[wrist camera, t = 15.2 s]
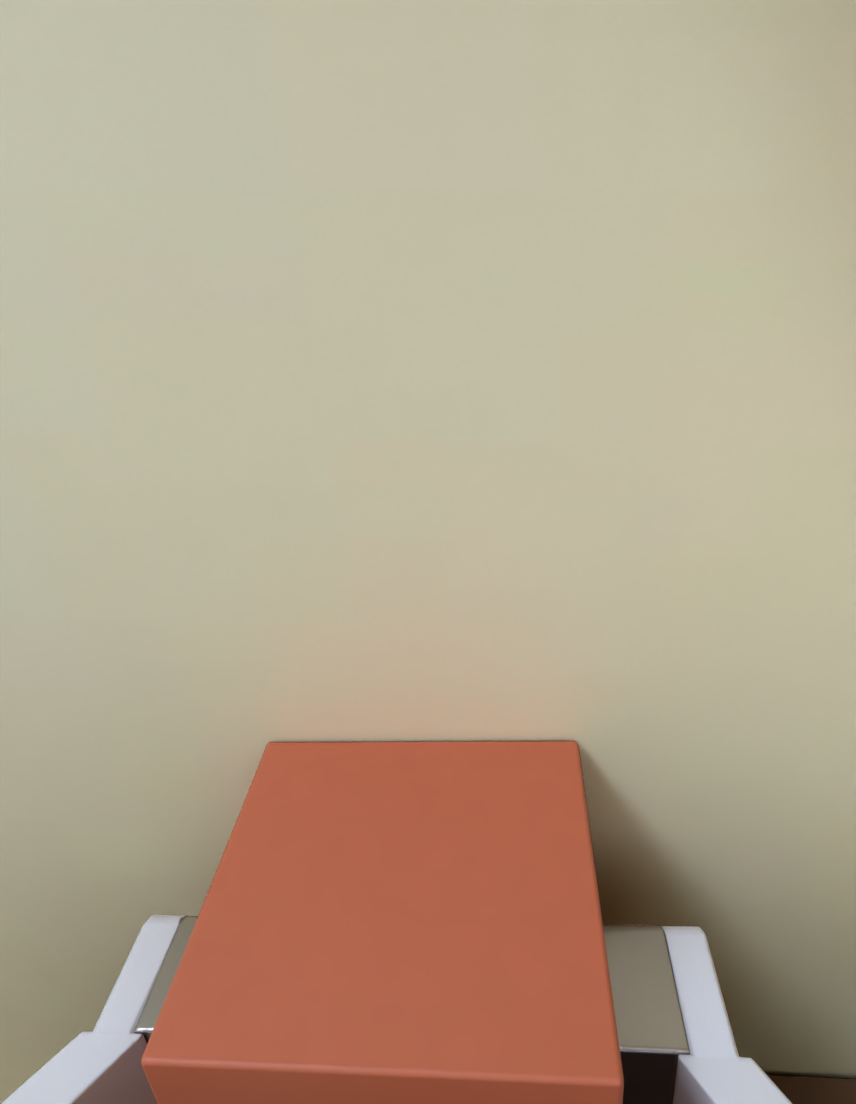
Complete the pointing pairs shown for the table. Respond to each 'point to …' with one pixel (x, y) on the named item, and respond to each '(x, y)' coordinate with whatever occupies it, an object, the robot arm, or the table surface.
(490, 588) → the table surface
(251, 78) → the table surface
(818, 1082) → the compartment
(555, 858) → the block
